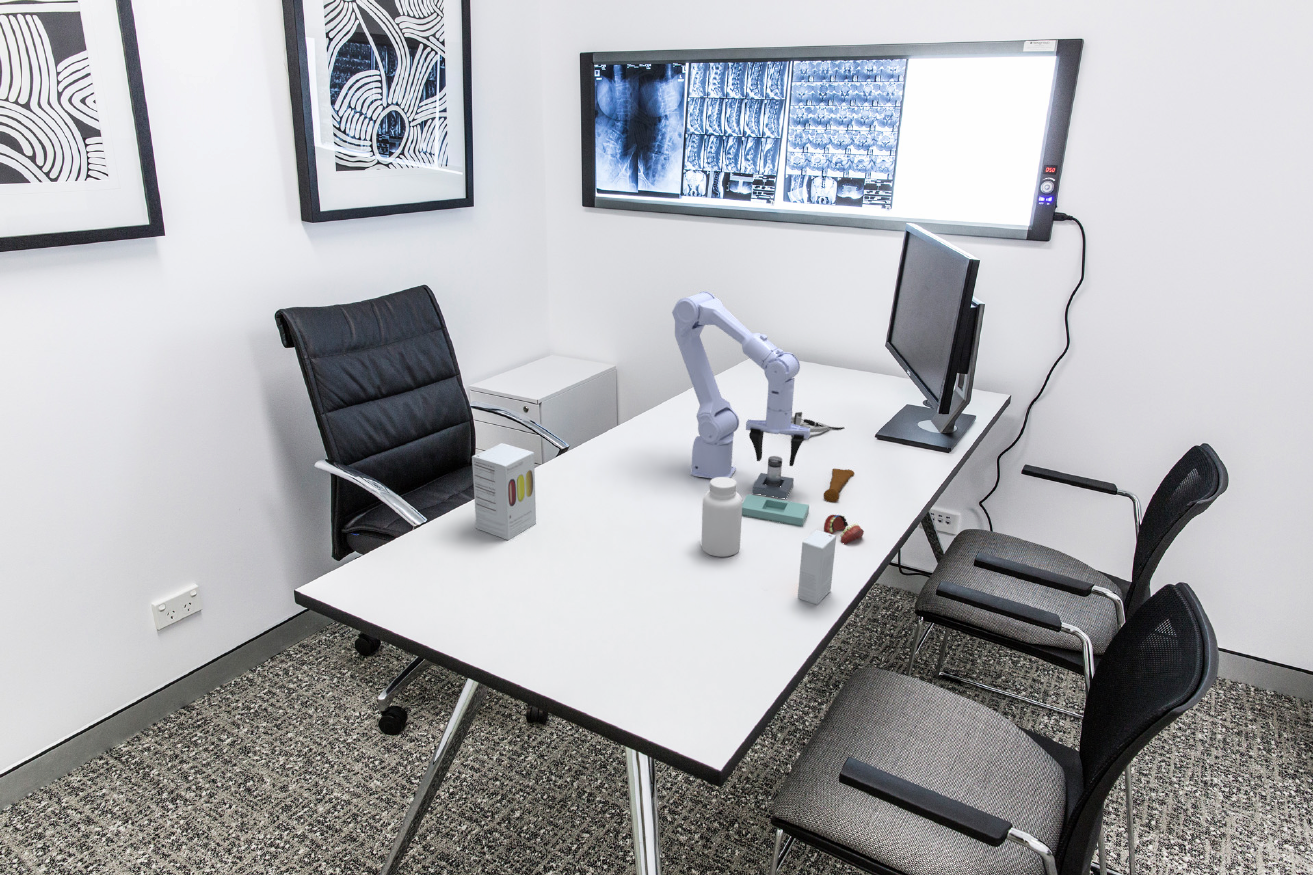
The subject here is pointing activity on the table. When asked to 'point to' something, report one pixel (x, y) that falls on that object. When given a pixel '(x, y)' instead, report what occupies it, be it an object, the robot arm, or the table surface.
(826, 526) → the dentures
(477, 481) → the supplement box
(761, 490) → the socket block
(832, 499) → the primitive tool
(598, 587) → the table surface
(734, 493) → the pill bottle
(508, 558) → the table surface
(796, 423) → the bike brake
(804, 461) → the table surface
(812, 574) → the skincare box
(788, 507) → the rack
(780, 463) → the glass vial
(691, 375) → the robot arm
